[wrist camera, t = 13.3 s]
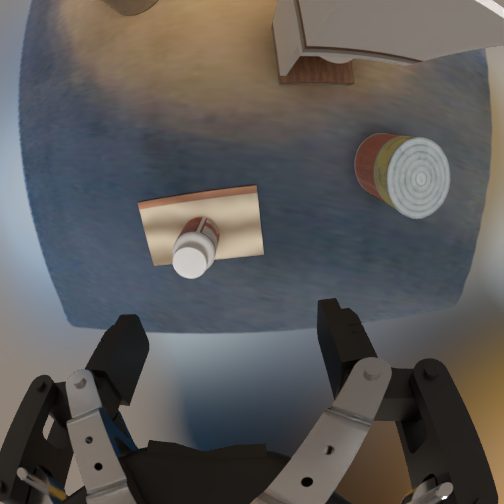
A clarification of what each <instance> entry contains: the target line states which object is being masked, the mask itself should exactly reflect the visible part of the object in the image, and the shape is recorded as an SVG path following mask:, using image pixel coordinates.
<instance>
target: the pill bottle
mask: <svg viewBox="0 0 504 504" xmlns="http://www.w3.org/2000/svg"><path fill="white" fill-rule="evenodd" d="M219 237H220V232H219V228H218V226H217V225H216V223H215V222H214V221H213V220H211V219H210V218H207V217H202V216H200V217H195V218H192V219H191V220H189V221H188V222H187V223H186V225H185V226H184V228H183V230H182V231H181V233H180V235H179V236H178V238H177V240H176V242H175V244H174V246H173V267H174V269H175V270H176V272H177V273H178V274H180V275H181V276H183V277H185V278H197V277H199V276H201V275H202V274H203V273H204V272H205V270H206V269H208V268H209V267H210V266H211V265H212V263H213V261H214V258H215V255H216V250H217V246H218V242H219Z"/></svg>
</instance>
